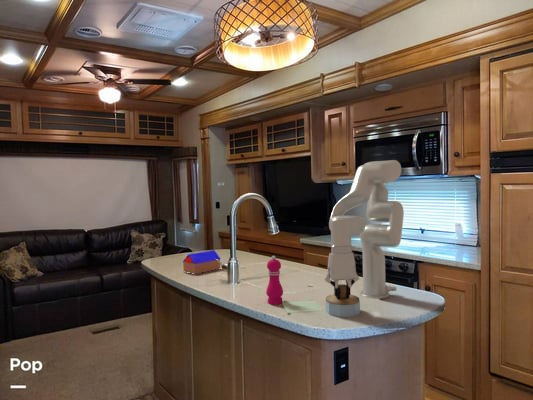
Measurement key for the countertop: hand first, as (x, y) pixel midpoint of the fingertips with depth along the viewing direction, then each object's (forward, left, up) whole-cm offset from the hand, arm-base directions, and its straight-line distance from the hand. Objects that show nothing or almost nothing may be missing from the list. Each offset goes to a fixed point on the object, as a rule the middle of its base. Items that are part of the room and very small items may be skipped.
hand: (342, 297), depth 149 cm
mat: (+14, -10, -6) cm, 18 cm away
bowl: (0, 0, -6) cm, 6 cm away
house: (+59, -96, -7) cm, 113 cm away
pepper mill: (+24, -20, -6) cm, 31 cm away
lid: (0, 0, -1) cm, 1 cm away
